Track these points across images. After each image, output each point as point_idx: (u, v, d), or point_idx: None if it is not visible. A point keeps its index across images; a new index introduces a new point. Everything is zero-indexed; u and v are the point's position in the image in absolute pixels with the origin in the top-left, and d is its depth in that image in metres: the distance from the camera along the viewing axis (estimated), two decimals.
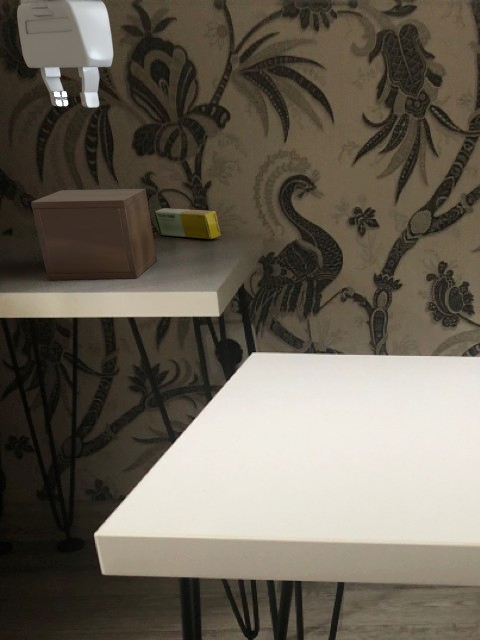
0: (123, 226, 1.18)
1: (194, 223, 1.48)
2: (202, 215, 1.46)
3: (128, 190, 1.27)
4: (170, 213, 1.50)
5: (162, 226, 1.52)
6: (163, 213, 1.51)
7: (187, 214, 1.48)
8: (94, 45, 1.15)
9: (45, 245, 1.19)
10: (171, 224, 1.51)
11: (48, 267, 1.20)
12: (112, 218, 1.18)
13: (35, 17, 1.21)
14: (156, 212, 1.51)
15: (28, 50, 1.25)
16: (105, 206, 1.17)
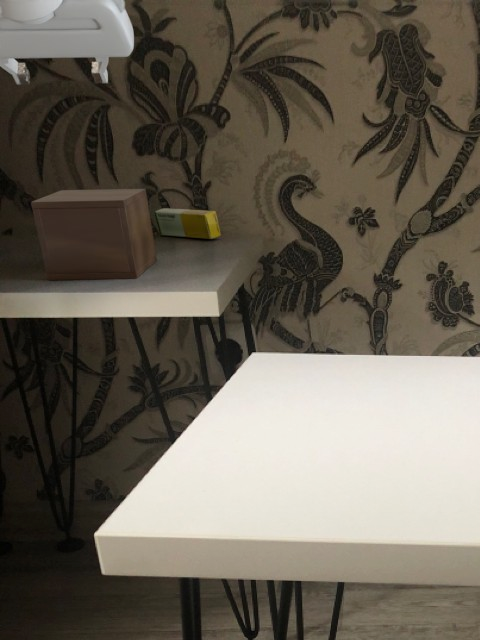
0: (123, 226, 1.18)
1: (194, 223, 1.48)
2: (202, 215, 1.46)
3: (128, 190, 1.27)
4: (170, 213, 1.50)
5: (162, 226, 1.52)
6: (163, 213, 1.51)
7: (187, 214, 1.48)
8: None
9: (45, 245, 1.19)
10: (171, 224, 1.51)
11: (48, 267, 1.20)
12: (112, 218, 1.18)
13: None
14: (156, 212, 1.51)
15: None
16: (105, 206, 1.17)
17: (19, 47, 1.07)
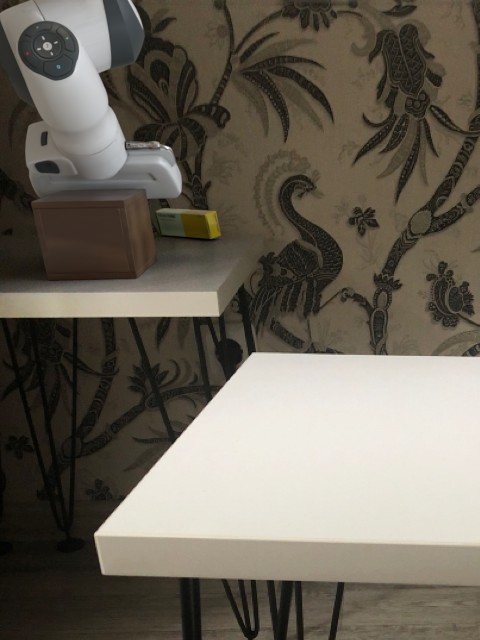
0: (123, 226, 1.18)
1: (195, 223, 1.48)
2: (202, 215, 1.46)
3: (128, 190, 1.27)
4: (170, 213, 1.50)
5: (162, 226, 1.52)
6: (163, 213, 1.51)
7: (187, 214, 1.48)
8: None
9: (45, 245, 1.19)
10: (172, 224, 1.51)
11: (48, 267, 1.20)
12: (112, 218, 1.18)
13: None
14: (156, 212, 1.51)
15: None
16: (105, 206, 1.17)
17: None
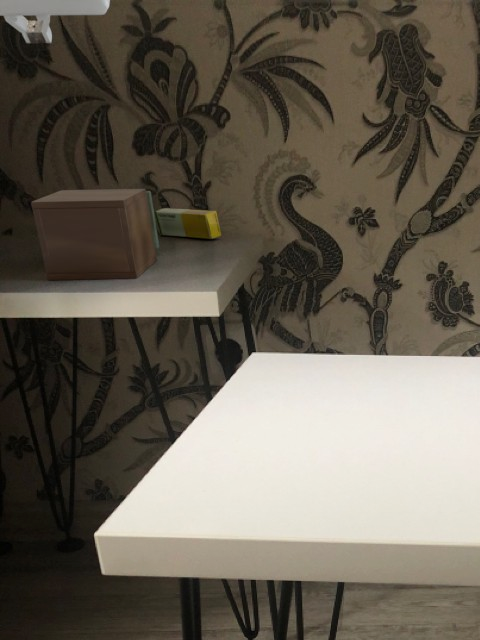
0: (123, 226, 1.18)
1: (195, 223, 1.48)
2: (203, 215, 1.47)
3: (128, 190, 1.27)
4: (171, 213, 1.50)
5: (163, 226, 1.52)
6: (164, 213, 1.51)
7: (188, 214, 1.48)
8: None
9: (45, 245, 1.19)
10: (172, 224, 1.51)
11: (48, 267, 1.20)
12: (112, 218, 1.18)
13: None
14: (157, 212, 1.51)
15: None
16: (105, 206, 1.17)
17: None
